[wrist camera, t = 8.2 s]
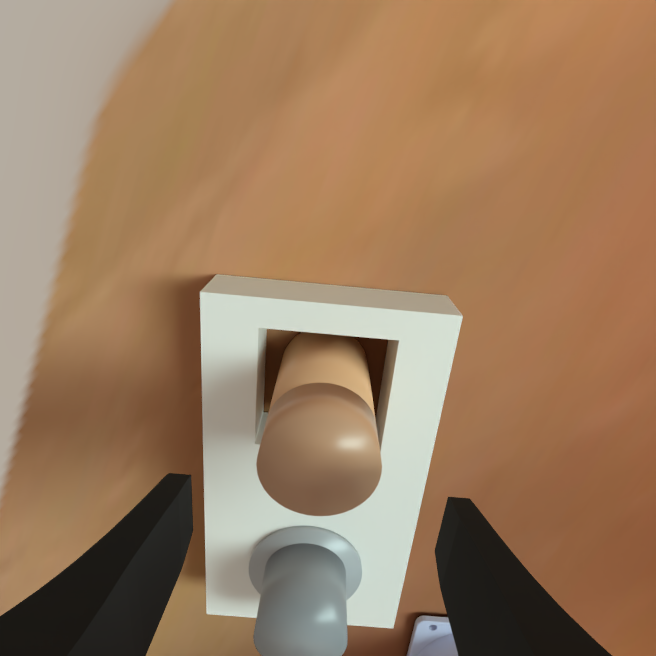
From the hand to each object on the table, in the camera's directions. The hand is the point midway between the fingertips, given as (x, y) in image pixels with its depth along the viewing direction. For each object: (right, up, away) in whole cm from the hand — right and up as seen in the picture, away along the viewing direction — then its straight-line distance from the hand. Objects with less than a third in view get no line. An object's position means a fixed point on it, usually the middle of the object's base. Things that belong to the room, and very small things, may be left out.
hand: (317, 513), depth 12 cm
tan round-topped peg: (0, +3, +8) cm, 9 cm away
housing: (0, -1, +10) cm, 10 cm away
